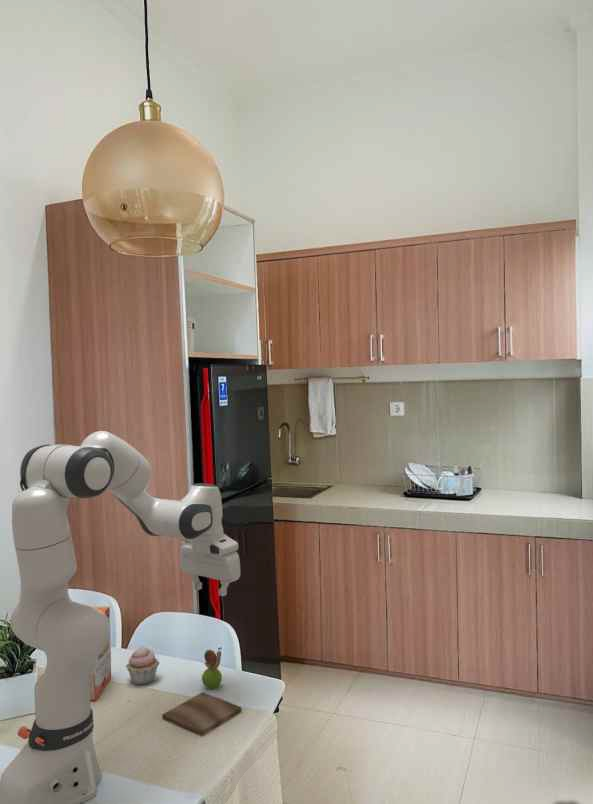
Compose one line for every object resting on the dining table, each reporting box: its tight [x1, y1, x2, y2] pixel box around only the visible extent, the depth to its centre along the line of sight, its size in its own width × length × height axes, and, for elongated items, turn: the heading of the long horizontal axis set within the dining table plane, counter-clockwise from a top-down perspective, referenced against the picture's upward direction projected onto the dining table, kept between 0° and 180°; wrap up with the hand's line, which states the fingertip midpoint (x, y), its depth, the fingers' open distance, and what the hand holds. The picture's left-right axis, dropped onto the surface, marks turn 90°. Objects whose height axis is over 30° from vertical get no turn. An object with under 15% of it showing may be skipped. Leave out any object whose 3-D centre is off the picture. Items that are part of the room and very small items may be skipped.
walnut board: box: [162, 691, 242, 737], centre depth 166 cm, size 14×14×1 cm
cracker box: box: [90, 605, 112, 701], centre depth 181 cm, size 14×6×21 cm, turn 179°
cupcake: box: [125, 644, 160, 686], centre depth 186 cm, size 9×9×10 cm
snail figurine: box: [201, 646, 223, 690], centre depth 180 cm, size 5×6×12 cm
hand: (210, 592), depth 179 cm, fingers open, 8 cm apart
